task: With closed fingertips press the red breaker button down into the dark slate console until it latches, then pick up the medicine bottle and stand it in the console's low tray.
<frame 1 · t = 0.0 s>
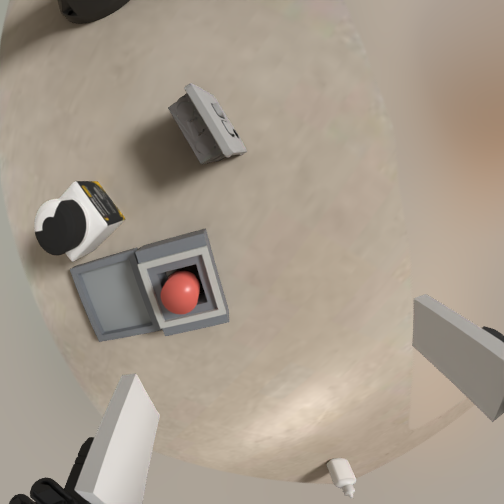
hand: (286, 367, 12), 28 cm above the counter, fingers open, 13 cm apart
console: (156, 286, 39), on the counter
electrical switch: (213, 134, 35), on the counter
eye dropper bottle: (336, 460, 53), on the counter
medicine bottle: (95, 215, 36), on the counter
breaker button: (181, 291, 34), point 5 cm above the counter, slide at 0.0 cm
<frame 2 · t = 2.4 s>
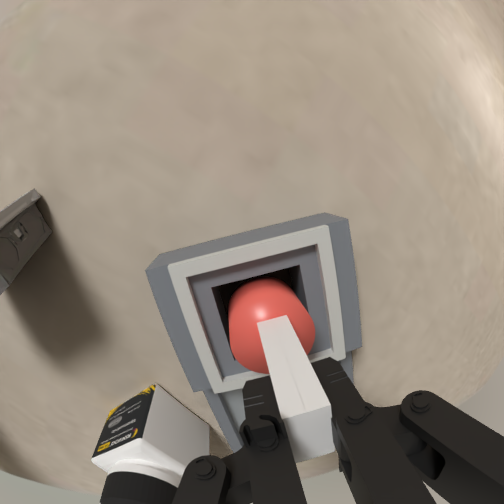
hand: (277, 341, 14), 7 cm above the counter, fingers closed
console: (270, 343, 22), on the counter
electrical switch: (24, 243, 18), on the counter
medicine bottle: (159, 417, 23), on the counter
breaker button: (267, 323, 16), point 5 cm above the counter, slide at 0.2 cm, touching gripper
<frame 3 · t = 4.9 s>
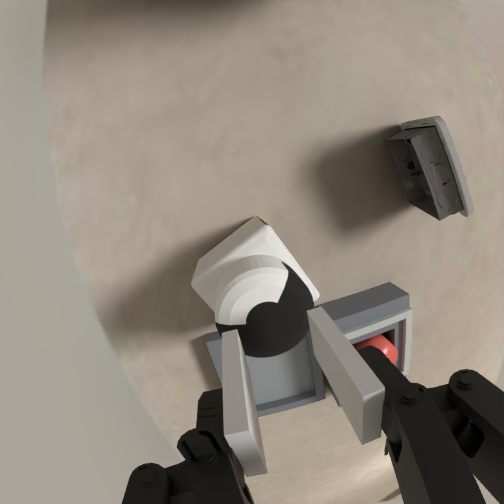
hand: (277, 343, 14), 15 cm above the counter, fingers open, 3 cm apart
console: (324, 350, 31), on the counter
electrical switch: (404, 170, 27), on the counter
medicine bottle: (248, 265, 28), on the counter
breaker button: (372, 353, 28), point 4 cm above the counter, slide at 1.6 cm
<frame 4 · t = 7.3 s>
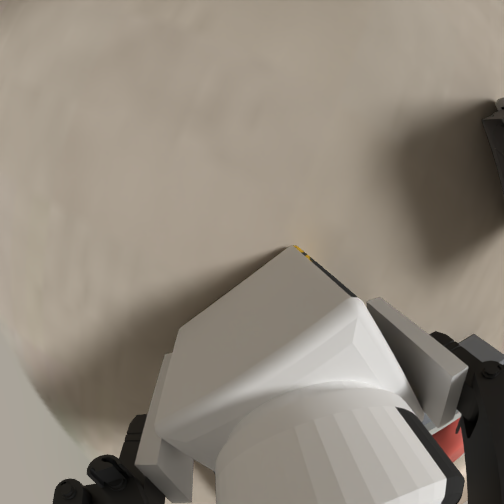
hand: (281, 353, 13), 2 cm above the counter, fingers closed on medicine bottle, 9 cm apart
console: (377, 433, 17), on the counter
electrical switch: (502, 168, 14), on the counter
medicine bottle: (274, 335, 14), on the counter, touching gripper
breaker button: (444, 436, 14), point 4 cm above the counter, slide at 1.6 cm
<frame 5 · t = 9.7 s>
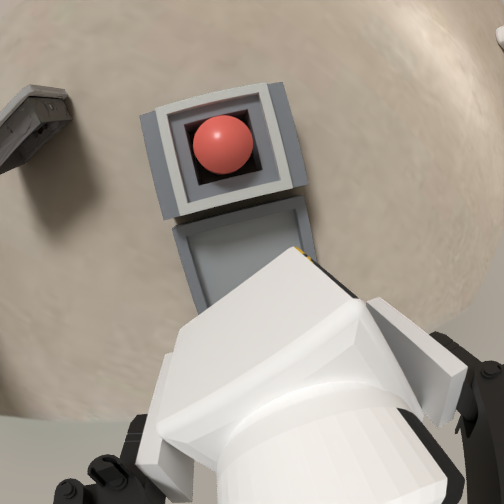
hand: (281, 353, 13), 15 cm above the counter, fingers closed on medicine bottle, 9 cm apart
console: (234, 199, 26), on the counter
electrical switch: (46, 133, 23), on the counter
eye dropper bottle: (499, 39, 24), on the counter
medicine bottle: (275, 336, 14), point 14 cm above the counter, touching gripper
breaker button: (223, 147, 22), point 4 cm above the counter, slide at 1.6 cm
when the fingers open (3 cm above the counter, at t = 12.3 s): medicine bottle stays where it is, resting on console.
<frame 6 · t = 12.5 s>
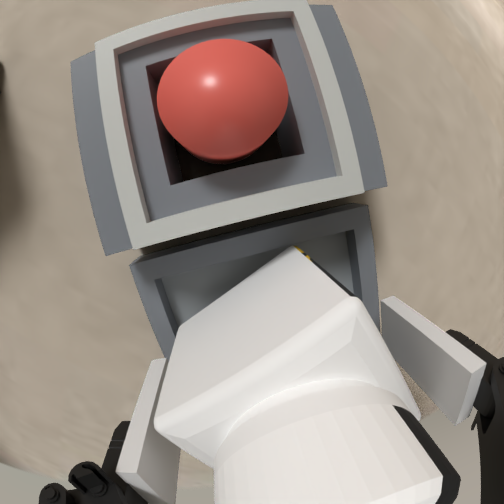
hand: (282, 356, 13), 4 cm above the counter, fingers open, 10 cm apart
console: (243, 209, 15), on the counter
medicine bottle: (273, 334, 15), point 2 cm above the counter, touching console
breaker button: (222, 106, 10), point 4 cm above the counter, slide at 1.6 cm
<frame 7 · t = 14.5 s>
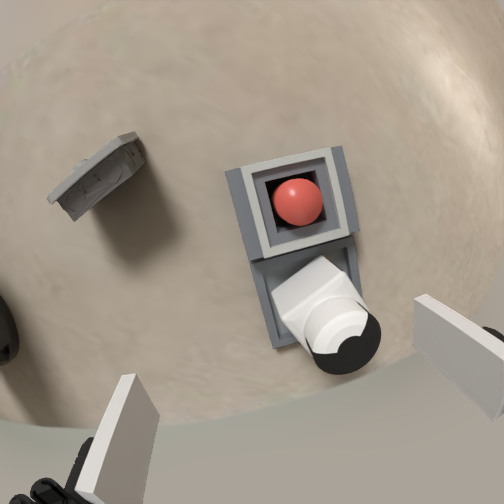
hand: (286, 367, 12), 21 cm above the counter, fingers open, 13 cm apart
console: (297, 238, 32), on the counter
electrical switch: (117, 172, 30), on the counter
medicine bottle: (312, 294, 32), point 2 cm above the counter, touching console
breaker button: (295, 201, 28), point 4 cm above the counter, slide at 1.6 cm
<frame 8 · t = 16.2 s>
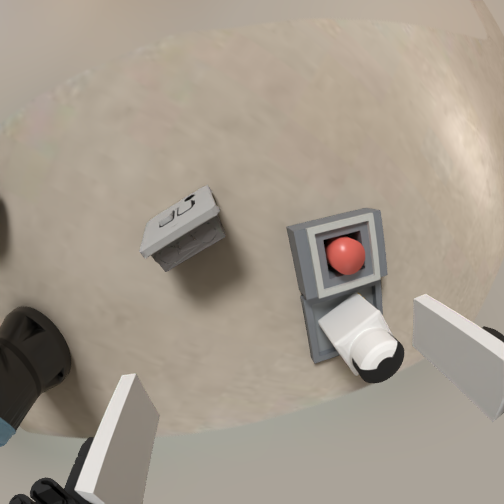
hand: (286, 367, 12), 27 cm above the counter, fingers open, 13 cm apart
console: (338, 278, 40), on the counter
electrical switch: (189, 219, 36), on the counter
medicine bottle: (347, 321, 40), point 2 cm above the counter, touching console
breaker button: (343, 254, 35), point 4 cm above the counter, slide at 1.6 cm
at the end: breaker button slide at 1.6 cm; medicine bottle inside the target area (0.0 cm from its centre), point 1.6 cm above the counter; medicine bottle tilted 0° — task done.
